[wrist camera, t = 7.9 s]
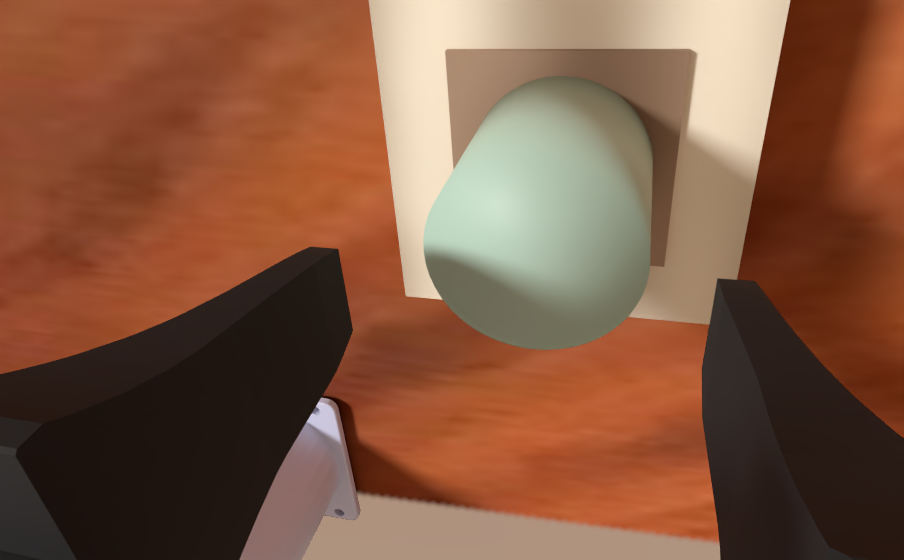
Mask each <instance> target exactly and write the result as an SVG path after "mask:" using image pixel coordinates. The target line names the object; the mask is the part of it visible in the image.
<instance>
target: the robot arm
mask: <svg viewBox="0 0 904 560" xmlns="http://www.w3.org/2000/svg"><path fill="white" fill-rule="evenodd" d="M352 331H353V328H352V323H351V317H350V312H349V306H348V301H347V295H346V290H345V284H344V279H343V273H342V268H341V262H340V257H339V251H338V249H332V248H319V247H309V248H307V249H304V250H302V251H300V252H298V253H296V254H294V255H292V256H290V257H288V258H286V259H284V260H283V261H281V262H279V263H277V264H275V265H273V266H272V267H270V268H268V269H266V270H265V271H263V272H261V273H259V274H257V275H256V276H254V277H252V278H250V279H248V280H247V281H245V282H243V283H241V284H239V285H238V286H236V287H234V288H232V289H230V290H229V291H227V292H225V293H223V294H221V295H219V296H217V297H215V298H213V299H211V300H209V301H207V302H205V303H203V304H201V305H199V306H197V307H195V308H193V309H191V310H189V311H188V312H186V313H183V314H181V315H179V316H177V317H175V318H173V319H170V320H168V321H166V322H164V323H161V324H159V325H157V326H154V327H152V328H149V329H147V330H144V331H142V332H140V333H137V334H135V335H132V336H129V337H127V338H124V339H121V340H118V341H115V342H112V343H109V344H106V345H103V346H100V347H97V348H94V349H92V350H89V351H86V352H83V353H80V354H77V355H73V356H70V357H66V358H63V359H59V360H56V361H52V362H49V363H45V364H41V365H37V366H33V367H29V368H25V369H21V370H17V371H13V372H8V373H4V374H0V560H302V558H303V556H304V554H305V552H306V550H307V548H308V546H309V544H310V542H311V540H312V538H313V536H314V534H315V532H316V530H317V528H318V526H319V524H320V522H321V520H322V518H323V516H324V515H325V516H331V517H336V518H342V519H348V520H355V519H357V518H358V516H359V514H360V507H359V502H358V497H357V493H356V488H355V483H354V479H353V474H352V469H351V465H350V460H349V455H348V451H347V446H346V441H345V437H344V432H343V427H342V423H341V418H340V413H339V408H338V406H337V404H336V403H335V402H334V401H332V400H330V399H327V398H321V397H322V395H323V394H324V392H325V390H326V389H327V387H328V385H329V383H330V382H331V380H332V378H333V376H334V375H335V373H336V371H337V369H338V366H339V364H340V362H341V359H342V357H343V355H344V352H345V350H346V347H347V344H348V342H349V339H350V337H351V334H352ZM316 407H317V408H316ZM702 417H703V425H704V432H705V439H706V446H707V454H708V460H709V467H710V474H711V481H712V488H713V495H714V502H715V509H716V515H717V522H718V531H719V542H720V554H721V555H720V556H721V560H904V438H902V437H901V436H900V435H899V434H897V433H896V432H895V431H894V430H892V429H891V428H890V427H889V426H888V425H886V424H885V423H884V422H883V421H882V420H881V419H879V418H878V417H877V416H876V415H875V414H874V413H872V412H871V411H870V410H869V409H868V408H867V407H865V406H864V405H863V404H862V403H861V402H860V401H859V400H858V399H856V398H855V397H854V396H853V395H852V394H851V393H850V392H849V391H848V390H847V389H846V388H845V387H844V386H843V385H842V384H841V383H840V382H839V381H838V380H837V379H836V378H835V377H834V376H833V375H832V374H831V373H830V372H829V371H828V370H827V369H826V368H825V367H824V366H823V365H822V363H821V362H820V361H819V360H818V359H817V358H816V357H815V356H814V354H813V353H812V352H811V351H810V350H809V349H808V347H807V346H806V345H805V344H804V343H803V342H802V340H801V339H800V338H799V337H798V336H797V334H796V333H795V332H794V331H793V330H792V328H791V327H790V326H789V325H788V323H787V322H786V321H785V319H784V318H783V317H782V316H781V314H780V313H779V312H778V310H777V309H776V308H775V306H774V305H773V304H772V302H771V301H770V300H769V298H768V297H767V296H766V294H765V293H764V292H763V290H762V289H761V288H760V287H759V285H758V284H757V283H756V282H755V281H746V280H733V279H720V278H717V284H716V290H715V295H714V301H713V307H712V313H711V319H710V324H709V330H708V336H707V342H706V348H705V353H704V359H703V365H702Z"/></svg>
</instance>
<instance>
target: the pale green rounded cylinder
mask: <svg viewBox="0 0 904 560" xmlns="http://www.w3.org/2000/svg"><path fill="white" fill-rule="evenodd" d="M652 177H653V153H652V145H651V142H650V138H649V134H648V132H647V130H646V127H645V125H644V123H643V122H642V120H641V118H640V117H639V115H638V114H637V112H636V111H635V110H634V109H633V108H632V106H631V105H630V104H629V103H628V102H627V101H625V100H624V99H623V98H622V97H621V96H620V95H618V94H617V93H615V92H614V91H612V90H611V89H609V88H607V87H605V86H603V85H601V84H599V83H596V82H593V81H591V80H588V79H583V78H578V77H570V76H552V77H545V78H540V79H536V80H533V81H530V82H527V83H525V84H523V85H521V86H519V87H516V88H515V89H513V90H512V91H510V92H509V93H507V94H506V95H505V96H503V97H502V98H501V99H500V100H499V101H498V102H497V103H496V104H495V105H494V106H493V107H492V109H491V110H490V111H489V112H488V114H487V116H486V117H485V119H484V120H483V122H482V124H481V125H480V127H479V129H478V130H477V132H476V134H475V135H474V137H473V139H472V140H471V142H470V144H469V145H468V147H467V148H466V150H465V152H464V153H463V155H462V157H461V158H460V160H459V162H458V163H457V165H456V167H455V168H454V170H453V172H452V173H451V175H450V177H449V178H448V180H447V182H446V183H445V185H444V187H443V188H442V190H441V192H440V193H439V195H438V197H437V198H436V200H435V202H434V203H433V206H432V208H431V210H430V212H429V214H428V217H427V221H426V225H425V229H424V238H423V247H424V257H425V263H426V266H427V270H428V273H429V276H430V278H431V280H432V282H433V284H434V287H435V288H436V290H437V291H438V293H439V295H440V296H441V298H442V299H443V300H444V302H445V303H446V304H447V305H448V307H449V308H450V309H451V310H452V311H453V312H454V313H455V314H456V315H457V316H458V317H459V318H461V319H462V320H463V321H464V322H466V323H467V324H468V325H470V326H471V327H473V328H474V329H476V330H477V331H479V332H481V333H483V334H485V335H487V336H489V337H491V338H493V339H495V340H498V341H501V342H503V343H506V344H510V345H514V346H517V347H523V348H529V349H541V350H551V349H563V348H570V347H575V346H578V345H582V344H586V343H588V342H591V341H593V340H596V339H598V338H600V337H602V336H603V335H605V334H607V333H609V332H610V331H612V330H613V329H614V328H616V327H617V326H618V325H620V324H621V323H622V322H623V321H624V320H625V319H626V318H627V317H628V316H629V315H630V314H631V312H632V311H633V310H634V308H635V307H636V306H637V304H638V302H639V301H640V299H641V297H642V295H643V293H644V290H645V287H646V285H647V282H648V276H649V271H650V249H651V213H652Z"/></svg>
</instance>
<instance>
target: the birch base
mask: <svg viewBox="0 0 904 560" xmlns="http://www.w3.org/2000/svg"><path fill="white" fill-rule="evenodd" d="M789 5H790V0H369V6H370V14H371V22H372V30H373V38H374V46H375V54H376V62H377V70H378V78H379V86H380V94H381V102H382V110H383V118H384V126H385V134H386V142H387V150H388V158H389V166H390V174H391V182H392V190H393V198H394V206H395V214H396V222H397V230H398V238H399V246H400V254H401V262H402V270H403V278H404V285H405V293H406V296H410V297H421V298H432V299H442V298H441V296H440V295H439V293H438V291H437V290H436V288H435V287H434V284H433V282H432V280H431V278H430V276H429V273H428V270H427V266H426V263H425V257H424V247H423V238H424V229H425V225H426V221H427V217H428V214H429V212H430V210H431V208H432V206H433V203H434V202H435V200H436V198H437V197H438V195H439V193H440V192H441V190H442V188H443V187H444V185H445V183H446V182H447V180H448V178H449V177H450V175H451V173H452V172H453V170H454V168H455V167H456V165H457V163H458V162H459V160H460V158H461V157H462V155H463V153H464V152H465V150H466V148H467V147H468V145H469V144H470V142H471V140H472V139H473V137H474V135H475V134H476V132H477V130H478V129H479V127H480V125H481V124H482V122H483V120H484V119H485V117H486V116H487V114H488V112H489V111H490V110H491V109H492V107H493V106H494V105H495V104H496V103H497V102H498V101H499V100H500V99H501V98H502V97H503V96H505V95H506V94H507V93H509V92H510V91H512V90H513V89H515V88H516V87H519V86H521V85H523V84H525V83H527V82H530V81H533V80H536V79H540V78H545V77H552V76H570V77H578V78H583V79H588V80H591V81H593V82H596V83H599V84H601V85H603V86H605V87H607V88H609V89H611V90H612V91H614V92H615V93H617V94H618V95H620V96H621V97H622V98H623V99H624V100H625V101H627V102H628V103H629V104H630V105H631V106H632V108H633V109H634V110H635V111H636V112H637V114H638V115H639V117H640V118H641V120H642V122H643V123H644V125H645V127H646V130H647V132H648V134H649V138H650V142H651V145H652V153H653V177H652V213H651V249H650V271H649V276H648V282H647V285H646V287H645V290H644V293H643V295H642V297H641V299H640V301H639V302H638V304H637V306H636V307H635V308H634V310H633V311H632V312H631V314H630V315H629V316H628V317H635V318H646V319H656V320H667V321H678V322H688V323H699V324H710V319H711V313H712V307H713V301H714V295H715V290H716V284H717V278H720V279H733V280H737V277H738V271H739V266H740V261H741V256H742V251H743V245H744V240H745V235H746V230H747V224H748V219H749V214H750V209H751V203H752V198H753V193H754V188H755V183H756V177H757V172H758V167H759V162H760V156H761V151H762V146H763V141H764V136H765V130H766V125H767V120H768V115H769V109H770V104H771V99H772V94H773V88H774V83H775V78H776V73H777V68H778V62H779V57H780V52H781V47H782V41H783V36H784V31H785V26H786V20H787V15H788V10H789ZM442 300H443V299H442Z"/></svg>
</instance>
